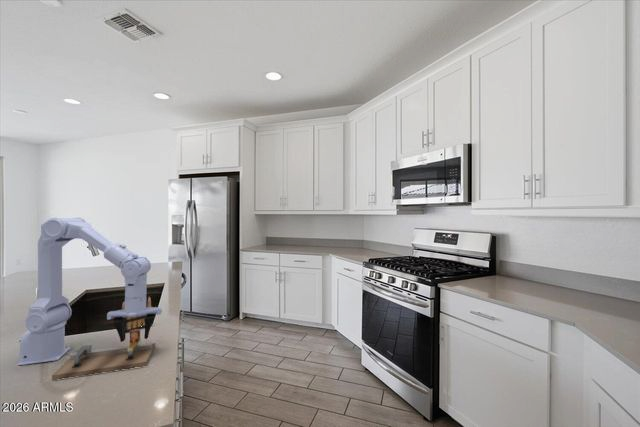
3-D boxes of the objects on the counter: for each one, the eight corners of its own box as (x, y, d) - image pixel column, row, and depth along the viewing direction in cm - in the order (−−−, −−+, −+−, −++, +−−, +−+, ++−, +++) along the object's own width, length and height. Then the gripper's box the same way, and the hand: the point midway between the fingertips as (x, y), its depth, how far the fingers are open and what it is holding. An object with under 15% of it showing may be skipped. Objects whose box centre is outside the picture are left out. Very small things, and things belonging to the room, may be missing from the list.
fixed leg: (70, 367, 79) (70, 357, 79) (81, 356, 85) (82, 346, 85) (80, 366, 80) (81, 355, 80) (91, 354, 86) (91, 344, 86)
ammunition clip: (150, 325, 114) (151, 295, 115) (152, 326, 113) (152, 296, 113) (119, 333, 106) (120, 301, 106) (121, 334, 105) (121, 302, 105)
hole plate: (51, 381, 75) (52, 375, 75) (74, 358, 87) (75, 353, 87) (146, 366, 83) (146, 361, 83) (155, 347, 95) (155, 342, 95)
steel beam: (69, 360, 83) (69, 355, 83) (72, 357, 84) (72, 352, 84) (150, 349, 90) (150, 344, 90) (151, 347, 92) (151, 342, 92)
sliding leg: (124, 359, 83) (124, 338, 83) (130, 348, 90) (131, 329, 90) (135, 357, 84) (135, 336, 84) (141, 347, 91) (141, 328, 91)
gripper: (103, 301, 83) (102, 348, 83) (159, 297, 88) (158, 341, 88) (112, 295, 89) (110, 338, 89) (163, 291, 94) (162, 332, 94)
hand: (134, 339), depth 89 cm, fingers open, 6 cm apart
